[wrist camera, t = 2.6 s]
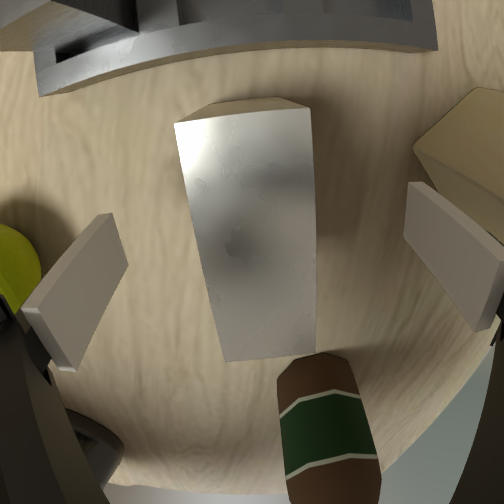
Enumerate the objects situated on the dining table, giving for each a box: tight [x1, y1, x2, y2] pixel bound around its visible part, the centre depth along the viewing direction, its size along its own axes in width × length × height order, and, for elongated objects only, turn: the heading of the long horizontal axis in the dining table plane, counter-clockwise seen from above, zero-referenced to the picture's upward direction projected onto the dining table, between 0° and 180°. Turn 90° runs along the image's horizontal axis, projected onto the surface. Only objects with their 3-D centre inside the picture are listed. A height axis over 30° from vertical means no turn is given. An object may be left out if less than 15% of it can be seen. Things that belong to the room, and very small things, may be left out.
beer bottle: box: [277, 353, 382, 504], centre depth 19 cm, size 8×8×24 cm
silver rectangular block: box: [174, 97, 317, 362], centre depth 15 cm, size 4×10×10 cm, turn 6°
